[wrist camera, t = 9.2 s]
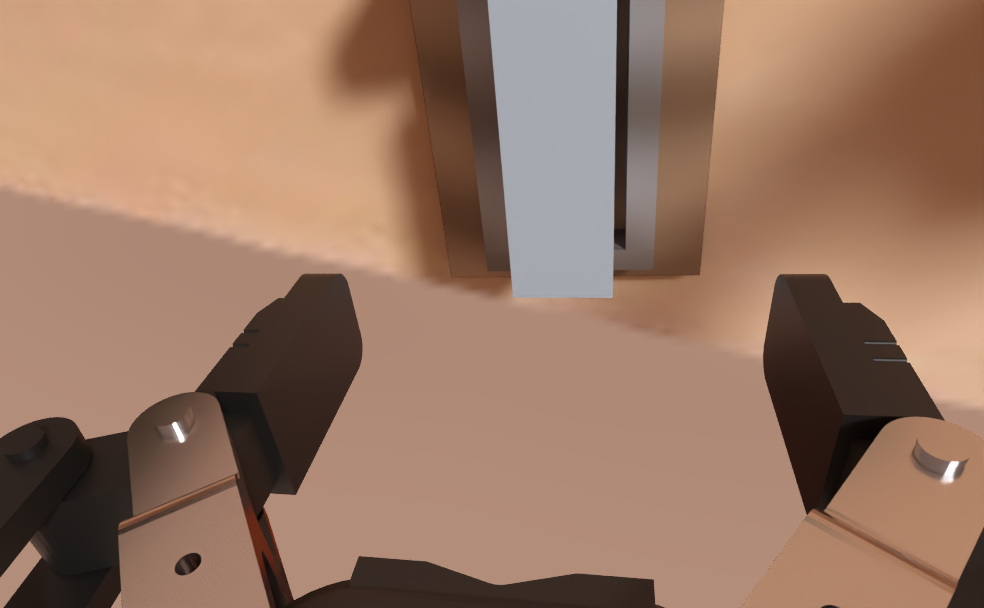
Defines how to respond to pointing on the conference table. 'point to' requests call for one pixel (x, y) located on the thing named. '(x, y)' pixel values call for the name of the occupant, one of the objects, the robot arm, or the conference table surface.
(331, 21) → the conference table surface
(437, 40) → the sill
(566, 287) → the gray rectangular block
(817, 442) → the robot arm
